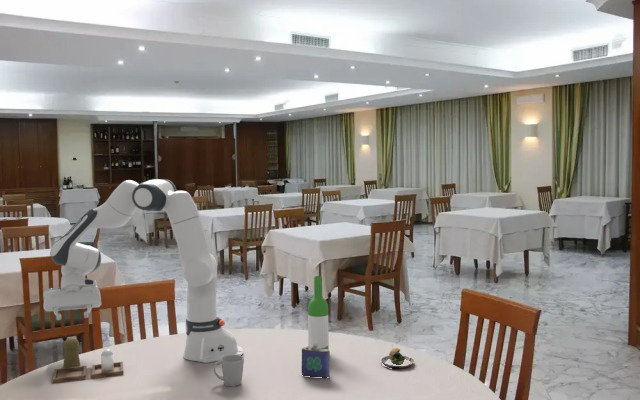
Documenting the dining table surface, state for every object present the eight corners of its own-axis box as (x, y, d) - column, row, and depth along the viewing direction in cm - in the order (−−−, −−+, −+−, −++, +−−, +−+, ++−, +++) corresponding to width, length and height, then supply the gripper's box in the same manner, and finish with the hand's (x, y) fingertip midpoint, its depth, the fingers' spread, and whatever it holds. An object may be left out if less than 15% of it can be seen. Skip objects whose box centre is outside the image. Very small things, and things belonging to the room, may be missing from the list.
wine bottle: (332, 352, 227) (332, 275, 225) (321, 358, 220) (321, 279, 218) (315, 349, 231) (315, 273, 229) (304, 355, 224) (303, 277, 222)
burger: (391, 373, 206) (391, 352, 205) (375, 362, 216) (375, 342, 216) (420, 367, 211) (420, 347, 210) (402, 357, 221) (403, 338, 221)
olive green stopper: (74, 373, 205) (73, 342, 205) (58, 372, 206) (58, 341, 206) (84, 367, 211) (83, 337, 210) (69, 366, 212) (68, 336, 212)
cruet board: (122, 368, 211) (122, 360, 211) (123, 379, 200) (123, 371, 199) (55, 375, 203) (55, 368, 203) (52, 388, 192) (52, 380, 192)
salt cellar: (113, 368, 206) (113, 347, 205) (113, 372, 202) (113, 350, 202) (101, 370, 205) (101, 348, 204) (101, 373, 201) (100, 351, 200)
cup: (244, 387, 192) (243, 361, 192) (213, 388, 191) (212, 363, 191) (244, 378, 200) (244, 354, 199) (214, 380, 199) (214, 355, 198)
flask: (330, 376, 202) (330, 343, 201) (328, 379, 199) (327, 346, 198) (302, 373, 205) (302, 341, 204) (300, 377, 202) (299, 344, 201)
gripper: (42, 284, 222) (41, 316, 213) (100, 280, 229) (101, 311, 220) (44, 293, 227) (42, 325, 218) (101, 289, 233) (101, 319, 225)
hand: (72, 318), depth 219 cm, fingers open, 8 cm apart
